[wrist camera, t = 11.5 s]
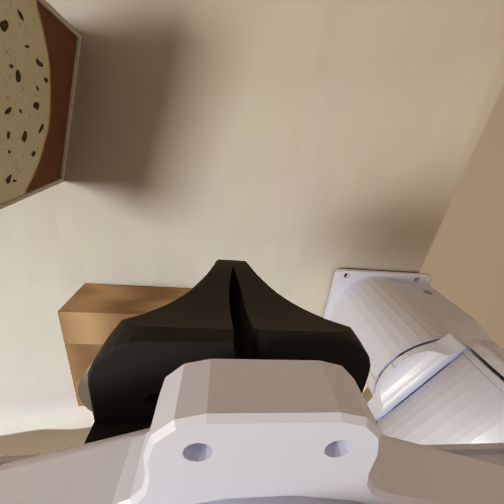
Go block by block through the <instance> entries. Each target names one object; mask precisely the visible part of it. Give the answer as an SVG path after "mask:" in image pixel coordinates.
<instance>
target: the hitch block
mask: <svg viewBox="0 0 504 504" xmlns="http://www.w3.org/2000/svg"><path fill="white" fill-rule="evenodd" d="M190 290H191V288H169V287H148V286H126V285H105V284H84V285H83V286H82V287H81V288H80V289H79V290H78V291H77V292H76V293H75V294H74V295H73V296H72V297H71V298H70V299H69V300H68V302H67V303H66V304H65V305H64V306H63V307H62V308H61V309H60V310H59V311H58V315H59V320H60V324H61V329H62V333H63V338H64V342H65V347H66V351H67V356H68V360H69V365H70V369H71V374H72V378H73V383H74V387H75V392H76V396H77V401H78V405H79V406H85V405H84V404H83V403H82V402H81V400H80V398H79V395H78V385H79V382H80V380H81V379H82V377H83V375H84V374H85V372H86V371H87V369H88V367H89V366H90V364H91V362H92V361H93V359H94V357H95V356H96V354H97V352H98V351H99V349H100V347H101V346H102V345H103V344H104V342H105V341H106V339H107V338H108V337H109V335H110V334H111V333H112V331H113V330H114V329H115V328H116V326H117V325H118V324H119V322H120V321H121V320H123V319H127V318H131V317H134V316H137V315H141V314H144V313H147V312H150V311H152V310H155V309H157V308H160V307H162V306H164V305H167V304H169V303H171V302H172V301H174V300H176V299H178V298H179V297H181V296H183V295H184V294H186V293H187V292H189V291H190Z"/></svg>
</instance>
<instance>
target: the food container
mask: <svg viewBox="0 0 504 504" xmlns="http://www.w3.org/2000/svg"><path fill="white" fill-rule="evenodd" d="M81 42H82V35H81V34H80V33H79V32H78V31H77V30H76V29H75V28H74V27H73V26H72V25H70V24H69V23H68V22H67V21H66V20H65V19H64V18H63V17H62V16H61V15H60V14H59V13H58V12H57V11H56V10H55V9H54V8H53V7H52V6H51V5H50V4H49V3H47V2H46V1H45V0H0V209H2V208H4V207H6V206H9V205H11V204H13V203H16V202H18V201H20V200H22V199H25V198H27V197H29V196H31V195H34V194H36V193H38V192H40V191H43V190H45V189H47V188H50V187H52V186H54V185H56V184H59V183H61V182H63V181H64V177H65V169H66V161H67V154H68V146H69V138H70V130H71V122H72V114H73V106H74V98H75V90H76V82H77V74H78V66H79V58H80V50H81Z"/></svg>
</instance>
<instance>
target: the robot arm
mask: <svg viewBox="0 0 504 504" xmlns="http://www.w3.org/2000/svg"><path fill="white" fill-rule="evenodd" d="M346 273H348V274H347V275H346V276H344V274H346ZM416 277H417V278H416ZM415 278H416V279H415ZM414 279H415V280H414ZM431 279H432V278H431V276H430V275H428V274H423V273H406V272H389V271H372V270H355V269H338V270H337V271H336V272H335V274H334V278H333V282H332V286H331V290H330V294H329V298H328V301H327V305H326V309H325V313H324V317H323V318H322V317H320V316H317V315H315V314H312V313H310V312H308V311H306V310H304V309H302V308H300V307H298V306H296V305H295V304H293V303H291V302H290V301H288V300H286V299H285V298H283V297H282V296H281V295H279V294H278V293H276V292H275V291H274V290H273V289H271V288H270V287H269V286H268V285H267V284H266V283H265V282H264V281H263V280H262V279H261V278H260V277H259V276H258V275H257V274H256V273H255V272H254V271H253V270H252V268H251V267H250V266H249V265H248V264H247V262H246V261H235V260H217V261H216V263H215V264H214V266H213V267H212V269H211V270H210V271H209V272H208V274H207V275H206V276H205V277H204V278H203V279H202V280H201V281H200V282H199V283H198V284H197V285H196V286H195V287H194V288H192V289H191V290H190V291H189V292H187V293H186V294H184V295H183V296H181V297H179V298H178V299H176V300H174V301H172V302H171V303H169V304H167V305H164V306H162V307H160V308H157V309H155V310H152V311H150V312H147V313H144V314H141V315H137V316H134V317H131V318H127V319H123V320H121V321H120V322H119V324H118V325H117V326H116V328H115V329H114V330H113V331H112V333H111V334H110V335H109V337H108V338H107V339H106V341H105V342H104V344H103V346H102V348H101V349H100V351H99V353H98V354H97V356H96V358H95V359H94V361H93V363H92V365H91V367H90V369H89V372H88V389H89V394H90V399H91V405H92V410H93V415H94V420H95V422H94V424H93V426H92V428H91V430H90V433H89V435H88V437H87V439H86V441H85V443H84V444H82V445H78V446H75V447H70V448H66V449H62V450H58V451H54V452H50V453H47V454H33V455H0V504H504V349H503V348H502V347H501V346H499V345H498V344H497V343H495V342H494V341H492V340H491V338H490V336H489V334H488V333H487V332H486V330H485V329H484V328H483V327H482V326H481V325H480V324H479V323H478V322H477V321H476V320H474V319H473V318H472V317H470V316H469V315H468V314H466V313H465V312H463V311H462V310H461V309H460V308H458V307H457V306H456V305H454V304H453V303H452V302H450V301H449V300H448V299H446V298H445V297H443V296H442V295H441V294H439V293H438V292H437V291H435V290H434V289H433V288H431V287H430V286H429V284H430V282H431ZM365 384H367V386H368V388H369V389H370V391H371V393H372V395H373V397H372V398H371V400H370V401H369V402H368V403H366V401H365V399H364V397H363V395H362V392H363V389H364V386H365ZM367 404H368V405H367ZM368 406H369V407H368ZM369 408H370V409H369ZM370 410H371V411H370ZM371 412H372V413H371ZM373 416H374V417H373Z"/></svg>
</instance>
